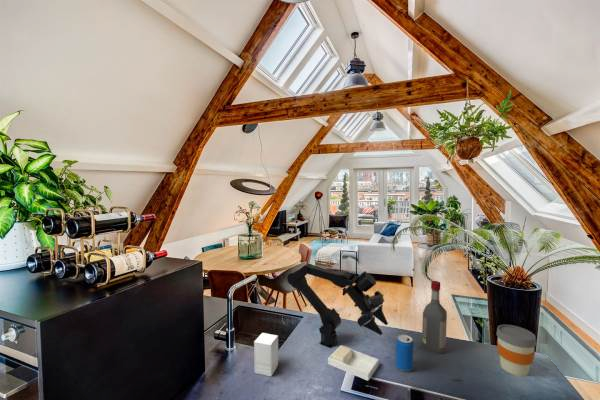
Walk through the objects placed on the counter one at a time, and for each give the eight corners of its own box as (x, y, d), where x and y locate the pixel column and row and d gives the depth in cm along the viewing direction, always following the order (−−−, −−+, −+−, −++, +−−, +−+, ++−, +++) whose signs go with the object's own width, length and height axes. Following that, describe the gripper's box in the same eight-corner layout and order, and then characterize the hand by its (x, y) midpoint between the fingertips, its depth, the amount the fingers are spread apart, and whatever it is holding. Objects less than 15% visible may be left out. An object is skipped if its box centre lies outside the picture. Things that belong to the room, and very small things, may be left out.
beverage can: (414, 373, 110) (415, 343, 109) (396, 371, 111) (397, 341, 110) (411, 363, 116) (411, 335, 115) (394, 361, 117) (395, 333, 117)
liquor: (446, 345, 129) (448, 281, 127) (444, 356, 121) (446, 287, 119) (424, 339, 134) (426, 277, 132) (421, 349, 126) (422, 283, 124)
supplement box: (278, 365, 114) (278, 335, 114) (271, 377, 107) (271, 345, 107) (262, 361, 117) (262, 332, 116) (253, 373, 110) (253, 341, 109)
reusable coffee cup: (541, 382, 105) (543, 343, 104) (501, 375, 109) (503, 337, 108) (526, 362, 117) (527, 327, 116) (490, 356, 121) (492, 322, 120)
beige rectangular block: (332, 363, 115) (332, 354, 115) (341, 353, 122) (341, 345, 122) (343, 367, 112) (343, 359, 112) (352, 357, 119) (352, 349, 119)
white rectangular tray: (328, 365, 115) (328, 357, 115) (340, 352, 124) (340, 345, 124) (368, 382, 105) (368, 374, 105) (378, 366, 114) (378, 359, 114)
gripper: (365, 294, 111) (394, 329, 106) (378, 280, 127) (403, 310, 122) (346, 309, 115) (372, 343, 110) (360, 294, 131) (384, 323, 126)
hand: (384, 329), depth 117 cm, fingers open, 9 cm apart
